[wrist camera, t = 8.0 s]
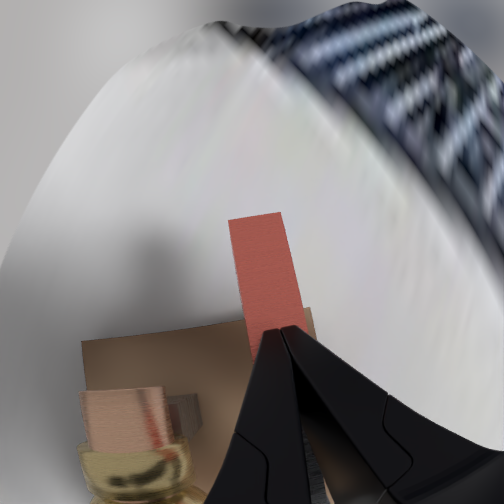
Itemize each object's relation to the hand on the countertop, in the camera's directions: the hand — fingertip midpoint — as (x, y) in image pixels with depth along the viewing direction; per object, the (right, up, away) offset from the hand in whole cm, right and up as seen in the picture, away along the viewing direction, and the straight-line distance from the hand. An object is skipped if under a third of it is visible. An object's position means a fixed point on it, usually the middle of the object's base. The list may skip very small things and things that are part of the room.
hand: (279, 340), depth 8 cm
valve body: (-3, -9, +4) cm, 10 cm away
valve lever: (+1, -7, -1) cm, 7 cm away
